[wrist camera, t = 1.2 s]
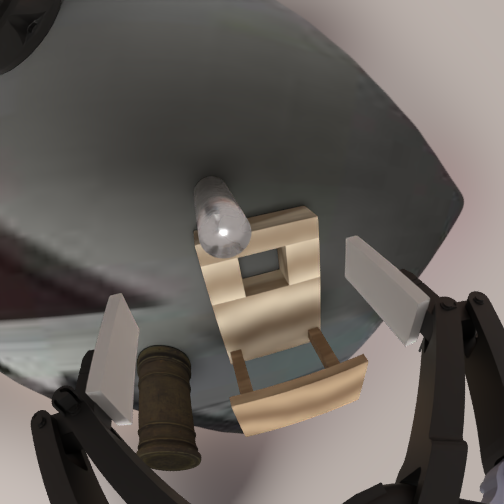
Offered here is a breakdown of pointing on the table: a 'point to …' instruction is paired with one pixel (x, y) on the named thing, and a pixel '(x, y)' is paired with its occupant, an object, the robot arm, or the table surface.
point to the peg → (220, 219)
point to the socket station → (278, 322)
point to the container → (166, 410)
